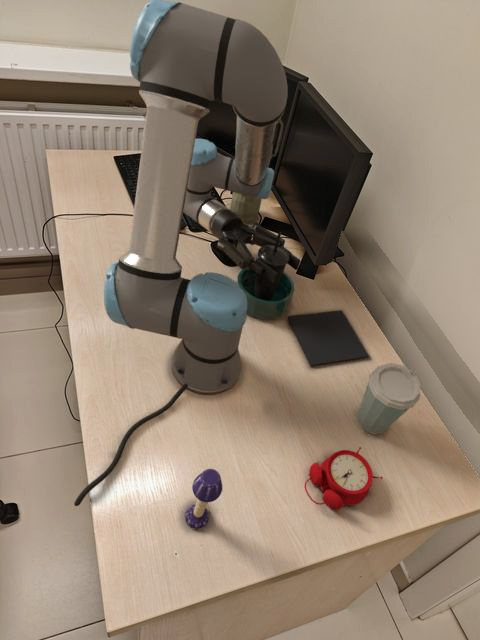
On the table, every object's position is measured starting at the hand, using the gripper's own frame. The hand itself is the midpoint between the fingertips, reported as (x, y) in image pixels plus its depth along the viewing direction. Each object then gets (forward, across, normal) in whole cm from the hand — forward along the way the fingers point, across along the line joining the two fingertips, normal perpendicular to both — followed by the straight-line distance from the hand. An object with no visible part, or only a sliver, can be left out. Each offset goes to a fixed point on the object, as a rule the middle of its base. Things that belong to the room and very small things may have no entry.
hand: (287, 271), depth 109 cm
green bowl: (-5, 0, -13) cm, 14 cm away
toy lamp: (+26, +50, -14) cm, 58 cm away
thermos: (-35, -23, -13) cm, 44 cm away
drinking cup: (-5, 0, -12) cm, 13 cm away
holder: (+14, -4, -13) cm, 20 cm away
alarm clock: (+40, +26, -14) cm, 49 cm away
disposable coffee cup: (+36, +8, -14) cm, 39 cm away
